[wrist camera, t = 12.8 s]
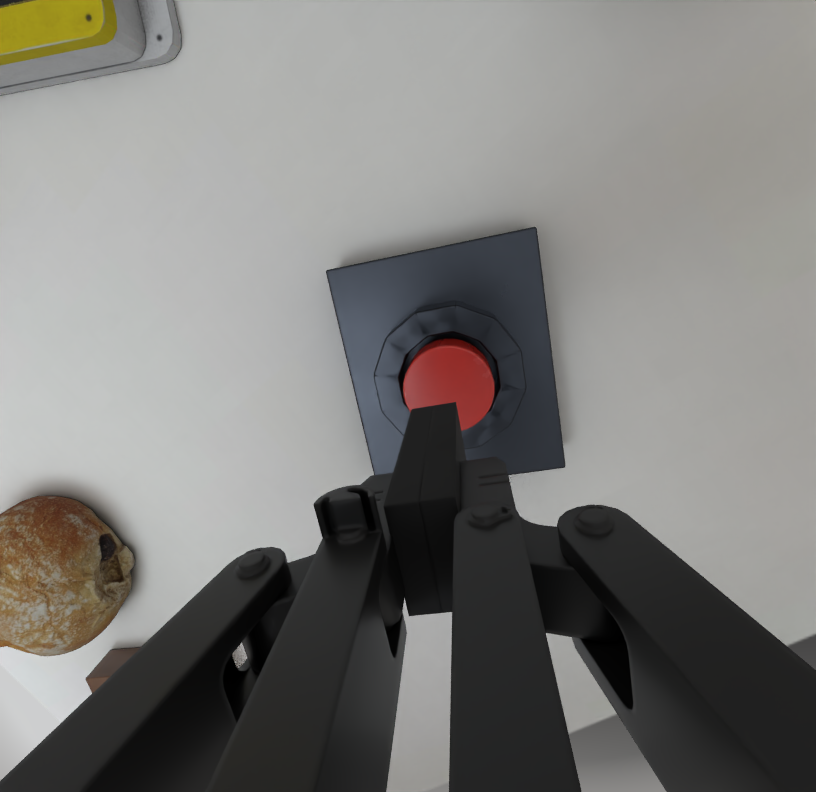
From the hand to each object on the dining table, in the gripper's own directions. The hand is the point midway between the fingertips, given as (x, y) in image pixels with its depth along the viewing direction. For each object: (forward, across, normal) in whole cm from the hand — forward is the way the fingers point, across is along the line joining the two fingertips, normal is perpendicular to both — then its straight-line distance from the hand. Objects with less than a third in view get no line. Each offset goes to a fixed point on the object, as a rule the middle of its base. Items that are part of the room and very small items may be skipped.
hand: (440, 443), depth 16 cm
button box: (+11, 0, 0) cm, 11 cm away
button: (+7, 0, 0) cm, 7 cm away
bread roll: (+11, -28, -9) cm, 31 cm away
